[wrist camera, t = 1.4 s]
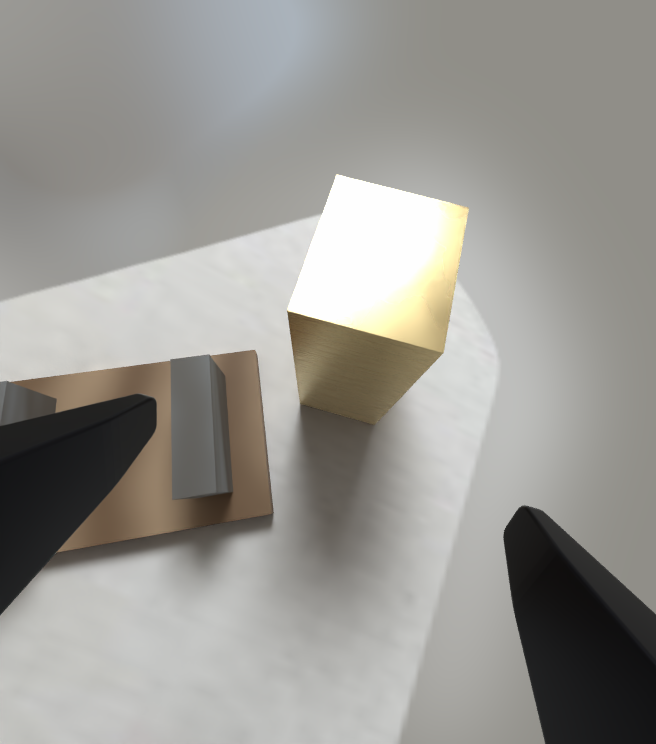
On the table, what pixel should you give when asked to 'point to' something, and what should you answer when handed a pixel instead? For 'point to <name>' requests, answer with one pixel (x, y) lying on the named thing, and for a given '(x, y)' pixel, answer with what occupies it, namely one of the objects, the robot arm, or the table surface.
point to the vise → (169, 443)
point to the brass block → (373, 297)
